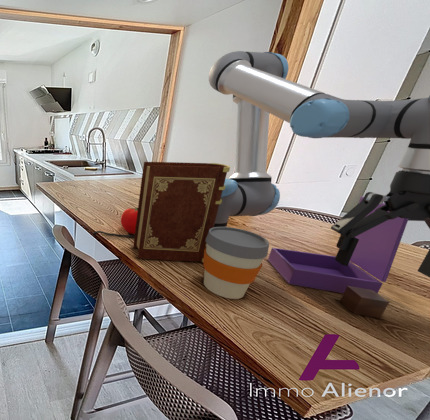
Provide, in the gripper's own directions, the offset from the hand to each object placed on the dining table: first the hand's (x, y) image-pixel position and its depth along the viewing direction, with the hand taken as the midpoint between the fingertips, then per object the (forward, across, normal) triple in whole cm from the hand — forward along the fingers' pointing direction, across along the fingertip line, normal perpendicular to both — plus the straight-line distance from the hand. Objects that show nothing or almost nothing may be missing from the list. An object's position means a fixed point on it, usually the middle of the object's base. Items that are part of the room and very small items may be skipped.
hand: (381, 268), depth 53 cm
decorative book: (+11, -40, +12) cm, 43 cm away
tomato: (+11, -52, +27) cm, 60 cm away
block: (+11, 0, 0) cm, 11 cm away
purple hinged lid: (-3, +5, +13) cm, 14 cm away
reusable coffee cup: (+11, -28, -2) cm, 30 cm away
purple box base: (+11, -2, +13) cm, 17 cm away
